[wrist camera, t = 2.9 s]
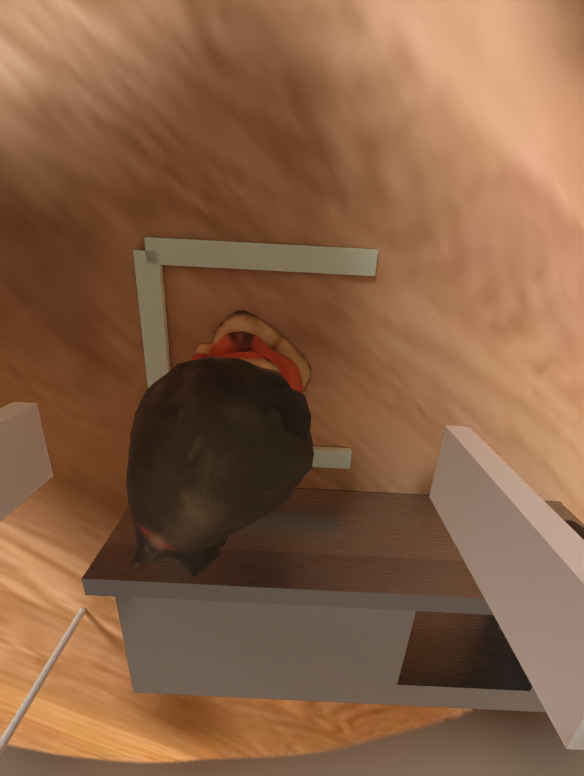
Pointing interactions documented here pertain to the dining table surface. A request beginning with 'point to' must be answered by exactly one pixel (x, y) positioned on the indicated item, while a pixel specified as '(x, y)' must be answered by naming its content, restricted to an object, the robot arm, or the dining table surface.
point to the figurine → (218, 443)
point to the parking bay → (233, 258)
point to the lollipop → (39, 682)
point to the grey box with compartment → (318, 610)
